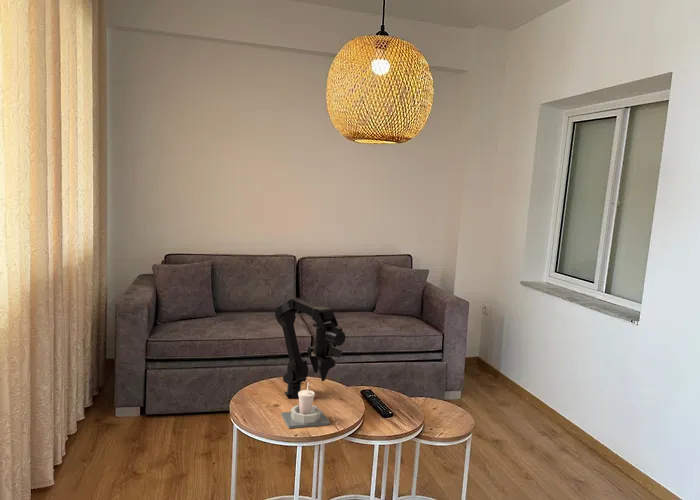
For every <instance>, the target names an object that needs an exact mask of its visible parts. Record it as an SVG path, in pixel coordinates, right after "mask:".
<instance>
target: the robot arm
mask: <svg viewBox="0 0 700 500" xmlns="http://www.w3.org/2000/svg"><path fill="white" fill-rule="evenodd" d="M298 312H301V313H302V314H305V315H307V316H310V317H311V319H312V321H314V323H313V324H312V327H315V338H314V340H313V344H314V345H313V346H308V347H307V349H306V354H307V356H308V358H309V359H308V360H309V361H310V363H311V366H312V367H311V368H312V369H313V373H314V374H317V373H319V375H320V380H321V382H324V381H326V378H327V375H328V373H329V371H330V369H332V368H335V367H336V364H337V363H336V360H335V359H334V358H333V357H332V356H335V357H337V358H339V359H340V358H341V356H342V354H343V349H341V348H340V347H339V346H342V345H343V344H345V342H346V333H345V332H344V331H343V328H342V327H339V323H338V320H337V319H336V316H335V313H334V310H333V309H332V308H330V307H324V306H318V305H317V306H316V305H315V304H312V303H310V302H308V301H305V300H302V299H301V298H299V297H296V298H290V299H289V300H287V301H286V302H284V303H283V304H281V305H279V306H278V307H276V310H275V311H274V315H275V318H276V322H277V323H278V324H279V326H281V328H282V332H283V336H284V337H283V338H284V341H285V345H286V346H285V347H286V351H287V355H288V364H287V367H286V368H287V372H286V373H285V374H284V375H283V376H282V380H283V382H284V383H285V384H286V386H287V388H286V391H284V395H285V396H286V398H287V399H289V400H290V399H299V396H298V392H299V391H301V390H302V382H303V383H304V382H306V380H307V378H308V376H309V366H308V361H307V360H303V358H302V356H301V351H300V348H299V342H298V338H297V334H296V329H295V321H296V319H297V317H296V314H297V313H298Z"/></svg>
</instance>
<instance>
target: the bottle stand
mask: <svg viewBox="0 0 700 500" xmlns="http://www.w3.org/2000/svg"><path fill="white" fill-rule="evenodd" d="M290 409H291V410H290V411H285V412H283V411H282V412H280V416H281V418H282V419H283V420H284V423H285V424H286V426H287V428H288V429H300V428H308V427H309V428H310V427H311V428H312V427H322V425H323V426H329V425H328V424H330V425H331V421H330V420H329V419H328V417H327V416H326V415H325V414H324V412H323V411H322V410H321V409H320V408H319V407H318V406H317V405H313V404H312V408H311V413H310V414H309V415H304V414H300V408H299V404H296V405H295V406H292V407H291V408H290Z"/></svg>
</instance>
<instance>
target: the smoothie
mask: <svg viewBox="0 0 700 500" xmlns="http://www.w3.org/2000/svg"><path fill="white" fill-rule="evenodd" d="M309 387H310V382H309V381H308V382H307V388H306V389H301V391H299V392H298V396H299V398H298V405H299V408H300V414H304V415H309V414H310V413H311V408H312V405H313V402H314V398H315V397H316V394H315V392H314V391H313V390H310V389H309Z"/></svg>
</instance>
